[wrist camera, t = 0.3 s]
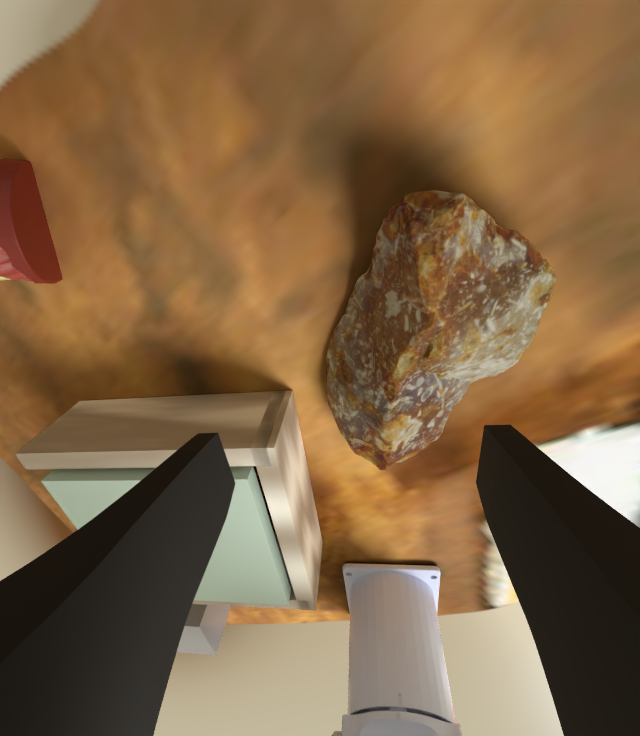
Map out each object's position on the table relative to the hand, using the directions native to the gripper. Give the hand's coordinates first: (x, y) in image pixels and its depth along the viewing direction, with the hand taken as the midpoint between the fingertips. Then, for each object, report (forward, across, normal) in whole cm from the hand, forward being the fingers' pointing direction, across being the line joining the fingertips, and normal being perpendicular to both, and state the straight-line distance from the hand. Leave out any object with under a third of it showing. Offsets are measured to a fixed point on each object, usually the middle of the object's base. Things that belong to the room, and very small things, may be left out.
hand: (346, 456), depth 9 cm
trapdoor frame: (+10, +12, +12) cm, 19 cm away
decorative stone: (+10, -3, +2) cm, 11 cm away
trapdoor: (+5, +12, +12) cm, 17 cm away
